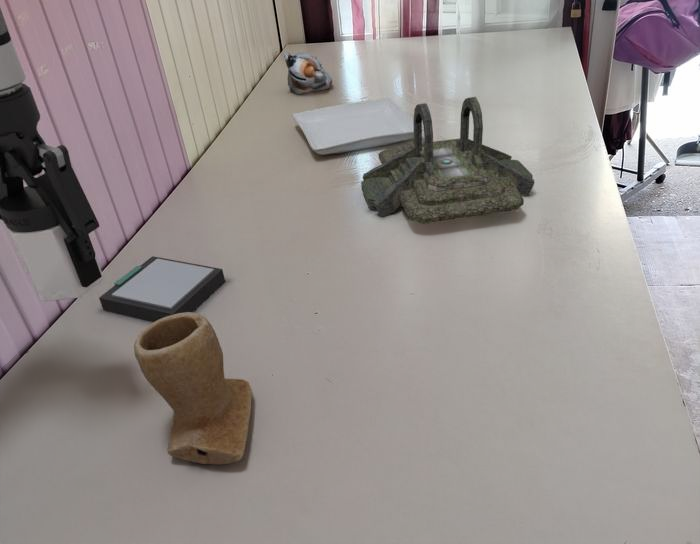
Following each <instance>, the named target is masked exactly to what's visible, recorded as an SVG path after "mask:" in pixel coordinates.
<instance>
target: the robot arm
mask: <svg viewBox="0 0 700 544" xmlns="http://www.w3.org/2000/svg"><path fill="white" fill-rule="evenodd" d="M25 80H26V74H25V71H24V68H23V66H22V64H21V61H20V59H19V56H18V53H17V51H16V48H15V46H14V43H13V40H12V37H11V34H10V31H9V28H8V25H7V22H6V20H5V17H4V14H3V11H2V8H1V7H0V200H1V199H2V198H3V197H7V198H8V197H10V196H12V195H14V194H16V193H18V192H20V191H22V190H23V189H24V187H25V185H26V186H28V187H30V188H34V189H35V190H36V192H37V193H38V194H39V196H40V197H41V199H42V200H43V202H44V203H45V204H48V205H50V206H51V207H52V210H53V212H54V215H55V217H56V220H57V222H58V223H59V225H60V226H61V227H62V229H63V230H64V232H65V233H66V235H67V236H68V237H66V238H65V239H63V240H64V242H65V245H66V247H67V250H68V252H69V255H70V257H71V260H72V262H73V265H74V267H75V270H76V272H77V275H78V277H79V280H80V283H81V285H82V287H86V288H87V287H88V286H90V285H91V284H92V283H94V282H95V281H96V280H98V279H99V278H101V277H102V275H101V273H100V270H99V267H98V265H97V262H96V259H95V255H96V251H95V249H94V246H93V243H92V240H91V237H90V234H91V233H92V232H94V231H96V230H97V229H99V228H100V223H99V220H98V218H97V217H96V215H95V212H94V210H93V209H92V206H91V203H90V202H89V200H88V198H87V196H86V193H85V192H84V189H83V188H82V185H81V183H80V181H79V179H78V176H77V175H76V173H75V171H74V168H73V166H72V162H71V158H70V154H69V150H68V148H67V146H65V145H63V144H60V145H58V146H56V147H54V146H51V145H48V144H46V142H45V140H44V139H43V138H42V136H41V135H40V133H39V130H38V124H39V122H40V120H41V114H40V111H39V108H38V105H37V103H36V100H35V97H34V95H33V92H32V89H31V87H30V86H28V85H27V84H26V83H24V82H25ZM43 171H44V173H43V174H41V173H42V172H43ZM40 174H41V175H40ZM38 175H39V176H38ZM35 176H36V177H35ZM24 184H25V185H24ZM0 220H1V221H3V220H2V218H1V215H0ZM3 223H4V224H5V222H3ZM72 225H73V226H74V227H72Z"/></svg>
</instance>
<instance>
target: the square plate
mask: <svg viewBox="0 0 700 544" xmlns="http://www.w3.org/2000/svg"><path fill="white" fill-rule="evenodd" d="M291 117H292V119H293V120H294V122H295V123H296V124H297V126H298V127H299V128H300V130H301V132H302V133H303V134H304V136H305V138H306V141H307V142H308V145H309V146H310V148H311V150H312V151H314V152H315V153H316V154H318V155H330V154H331V155H333V154H334V155H335V154H341V153H342V154H343V153H348V152H355V151H359V150H366V149H370V148H377V147H383V146H388V145H392V144H396V143H399V142H404V141H408V140H412V139H414V117H412V116H411V115H409V113H407V112H406V111H405V110H404V109H403V108H402V107H400V105H398V104H397V103H396V102H395V101H394V100H392V99H391V98H390V97H385V98H378V99H370V100H362V101H355V102H354V101H353V102H348V103H342V104H335V105H331V106H325V107H321V108H320V107H319V108H316V109H310V110H306V111H300V112H296V113H295V112H294V113H292V114H291ZM422 132H424V127H422Z"/></svg>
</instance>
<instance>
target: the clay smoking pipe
mask: <svg viewBox="0 0 700 544" xmlns="http://www.w3.org/2000/svg"><path fill="white" fill-rule="evenodd" d="M133 349H134V350H133V351H134V357H135V359H136V361H137V364H138V366H139V368H140V371H141V373H142V374H143V377H144V378H145V380H146V381H147V382H148V383H149V384H150V386H152V388H153V389H154V390H155V391H156V392H157V393H158V394H159V395H160V396H161V397H162V398H163V400H164V401H165V402H166V403H167V404H168V406H169V407H170V408H171V409H172V412H173V417H172V422H171V429H170V436H169V441H168V445H167V454H168V455H169V456H171V457H175V458H178V459H181V460H184V461H187V462H193V463H196V464H197V463H198V464H200V465H201V464H202V465H207V464H210V465H225V464H226V465H228V464H233V463H236V462H239V461H241V460H242V459H243V457H244V455H245V450H246V444H247V441H248V433H249V425H250V419H251V413H252V397H253V396H252V395H253V394H252V393H253V392H252V387H251V385H250V382H249V381H247V380H245V379H242V378H241V379H240V378H225V370H224V352H223V349H222V347H221V344H220V341H219V338H218V336H217V333H216V331H215V329H214V327H213V325H212V323H211V322H210V320H208V318H207V317H206V316H204V315H203V314H200V313H197V312H194V311H193V312H185V313H178V314H174V315H170V316H167V317H164V318H161V319H159V320H157V321H155V322H152V323H150V324H149V325H147V326H146V327H145V328H143V329H142V330H141V331H140V332H139V333H138V334H137V336H136V339H135V341H134V346H133Z"/></svg>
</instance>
